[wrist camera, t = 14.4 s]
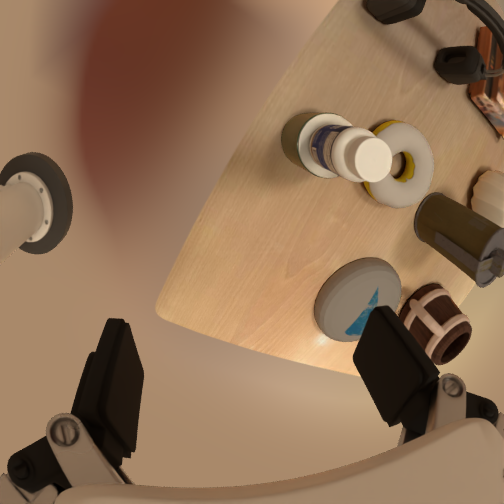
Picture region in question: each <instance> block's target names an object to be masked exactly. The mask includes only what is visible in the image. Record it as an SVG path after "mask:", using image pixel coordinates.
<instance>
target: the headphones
mask: <svg viewBox="0 0 504 504" xmlns="http://www.w3.org/2000/svg"><path fill="white" fill-rule="evenodd" d="M455 1H457V2H459V3H461V4H467V8H468V9H469V10H470V11H471V12H472V13H473V14H475V15H476V16H477V17H478V18H479V19H480V20H481V21H482V22H483V23H484V24H485V25H486V26H487V27H488V28H489V30H490V31H491V32H492V34H493V35H494V37H495V39H496V41H497V43H498V45H499V48H500V51H501V53H502V55H503V60H502V65H503V66H502V67H501V68H499V69H497V70H487V69H486V64H485V63H484V59H483V58H482V55H481V54H480V53H479V52H478V50H477V49H476V48H475V47H473V46H457V47H447V48H443V49H441V50H440V52H439V54H438V57H437V60H436V63H435V69H436V70H437V71H438V73H439V75H440V76H441V77H444V78H445V79H446V80H447V81H448V82H450V83H452V84H456V85H461V84H468V83H475V82H478V81H480V80H487V77H496V76H499V75H501V74H503V73H504V21H503V19H502V18H501V17H500V15H499V14H498V13H497V12H496V11H495V10H494V9H493V8H492V7H491V6H490V5H489V4H488V3H487V2H486V1H484V0H455ZM425 2H426V0H368V1H367V8H368V10H369V11H370V12H371V13H372V14H373V15H375V17H376V18H377V19H378V20H380V21H382V22H383V23H385V24H394V23H397V22H400V21H403V20H406V19H409V18H412V17H415V16H417V15H419V14H420V13H421V12H422V10H423V8H424V5H425ZM496 72H499V73H496ZM488 73H496V74H488Z"/></svg>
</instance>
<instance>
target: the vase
mask: <svg viewBox="0 0 504 504" xmlns="http://www.w3.org/2000/svg"><path fill="white" fill-rule="evenodd" d="M473 191H474V195H473V197H472V198H471V205H472V210H473V211H474V212H476V213H478V214H480V215H481V216H483V217H485V218H487V219H488V220H490V221H492V222H493V223H495V224H497V225H498V226H500V227H502V228H504V173H503V172H501V171H489V170H488V171H486V172H485V173H484V174H482V175H481V176H480V177H479V178H478V182H477V183H476V185H475V186H474V187H473Z"/></svg>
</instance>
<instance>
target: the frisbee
mask: <svg viewBox="0 0 504 504" xmlns="http://www.w3.org/2000/svg"><path fill="white" fill-rule="evenodd" d="M400 298H401V281H400V278H399V276H398V274H397V273H396V271H395V270H394V269H393V267H392V266H391V265H390V264H388V263H387V262H386V261H384V260H381V259H377V258H364V259H359V260H356V261H354V262H351V263H349V264H347V265H346V266H344V267H342V268H341V269H339V270H338V271H337V272H335V273H334V274H333V275H332V276H331V277H330V278H329V279H328V280H327V282H326V283H325V284H324V285H323V287H322V289H321V290H320V292H319V294H318V297H317V299H316V303H315V307H314V315H315V320H316V322H317V324H318V326H319V328H320V329H321V330H322V332H323V333H324V334H325V335H326V336H328V337H329V338H331V339H333V340H336V341H341V342H352V341H357V340H360V337H361V335H362V332H363V330H364V327H365V325H366V322H367V320H368V317H369V314H370V312H371V311H373V309H374V308H375V307H377V306H384V305H388V306H389V307H391V309H392V310H393V311H394V312H395V311H396V309H397V307H398V304H399V302H400Z"/></svg>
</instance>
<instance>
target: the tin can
mask: <svg viewBox="0 0 504 504" xmlns="http://www.w3.org/2000/svg"><path fill="white" fill-rule="evenodd" d="M324 125H344V126H352V125H351V124H350V123H349V122H348V121H347V120H346V119H345V118H343V117H341V116H340V115H337V114H334V113H303V114H299V115H297V116H295V117H293V118H292V119H291V120H290V121H288V123H287V124H286V126H285V127H284V129H283V132H282V137H281V143H282V148H283V151H284V153H285V155H286V156H287V158H288V159H289V160H290V161H291V162H293V163H294V164H296V165H297V166H299V167H301V168H303V169H305V170H306V171H308V172H310V173H312V174H313V175H315V176H318V177H321V178H335V177H338V176H339V175H337V174H335V173H333V172H331V171H329V170H327V169H324V168H322V167H321V166H319V165H318V164H317V163H316V162H315V161H314V160H313V158H312V156H311V153H310V147H309V146H310V140H311V137H312V135H313V133H314V132H315V131H316V130H317V129H318V128H320V127H322V126H324Z"/></svg>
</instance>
